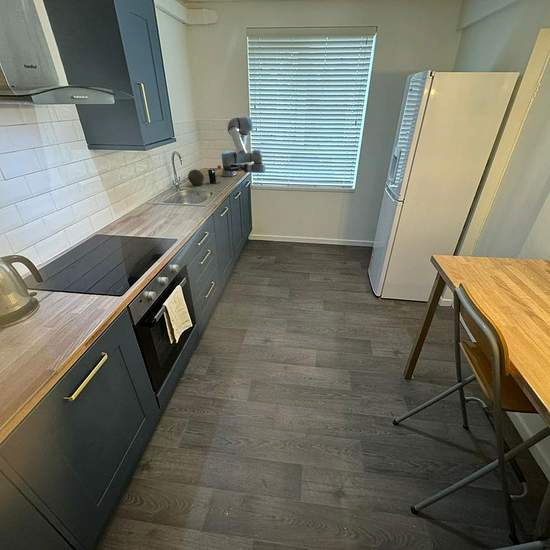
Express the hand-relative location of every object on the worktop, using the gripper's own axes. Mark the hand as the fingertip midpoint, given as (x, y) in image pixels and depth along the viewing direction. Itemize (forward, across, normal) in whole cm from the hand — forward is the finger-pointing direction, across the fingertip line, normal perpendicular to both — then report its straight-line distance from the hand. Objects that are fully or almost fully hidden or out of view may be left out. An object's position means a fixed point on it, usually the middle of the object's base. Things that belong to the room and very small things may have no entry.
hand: (227, 167), depth 272 cm
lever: (+12, 0, -4) cm, 13 cm away
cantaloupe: (+29, -11, -16) cm, 35 cm away
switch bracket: (+18, 0, -16) cm, 24 cm away
